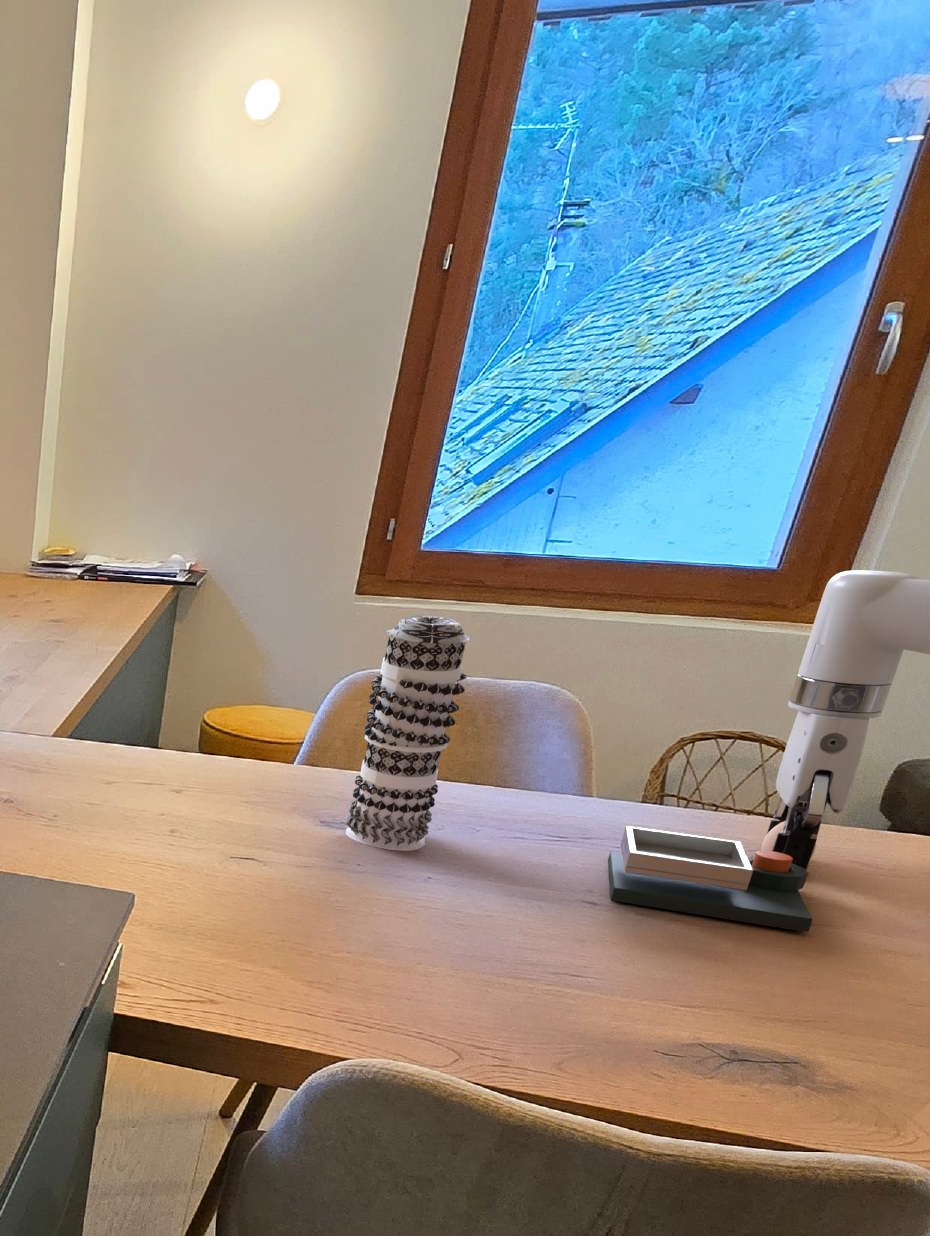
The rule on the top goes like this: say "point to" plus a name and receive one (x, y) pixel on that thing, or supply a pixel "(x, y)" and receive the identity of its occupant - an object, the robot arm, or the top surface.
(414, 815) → the decorative candle
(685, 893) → the scale
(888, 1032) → the top surface
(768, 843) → the egg
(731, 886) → the pan
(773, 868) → the button
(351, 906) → the top surface
